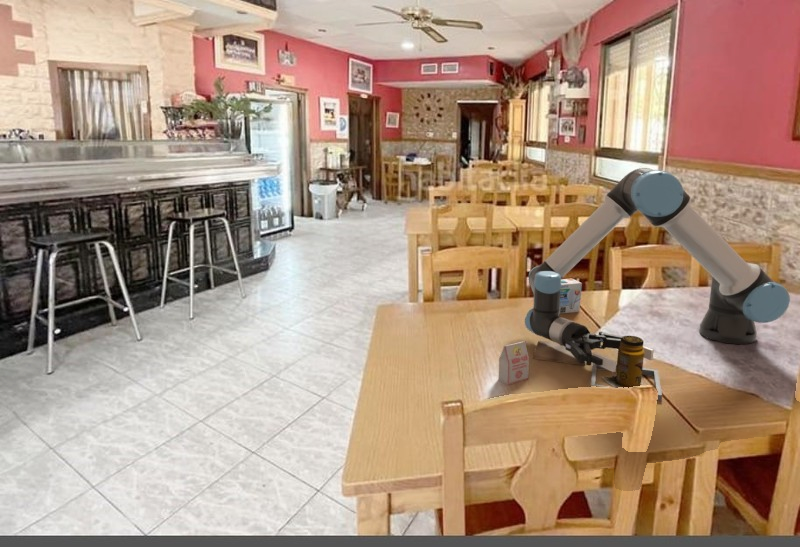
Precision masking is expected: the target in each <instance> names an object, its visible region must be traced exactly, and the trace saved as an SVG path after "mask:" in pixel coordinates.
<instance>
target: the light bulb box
mask: <svg viewBox="0 0 800 547" xmlns="http://www.w3.org/2000/svg"><path fill="white" fill-rule="evenodd" d="M582 284H583V283H582V282H580V281H578V280H576V279H574V278H562V279H561V285H562V287H561V293H560V307H559V308H560V310H559V314H568V313H579V312H580V311H581V299H582V298H581V297H582Z"/></svg>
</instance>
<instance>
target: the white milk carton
mask: <svg viewBox="0 0 800 547" xmlns="http://www.w3.org/2000/svg"><path fill="white" fill-rule="evenodd" d="M529 367H530V357H529V353H528V349H527V344H526V341H525V340H524V341H518V342H516V343H511V344H507V345H503V348H502V351H501V354H500V356H499V358H498V381H500V382H502V383H503V384H505V385H507V386H509V385H514V384H516V383H519V382H520V383H521V382H523V381H524V382H525V381H527V380H529Z"/></svg>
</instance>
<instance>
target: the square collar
mask: <svg viewBox="0 0 800 547" xmlns="http://www.w3.org/2000/svg"><path fill="white" fill-rule="evenodd" d="M591 368H592V370H591V379H590V387H591V386H596V387H612V386H611V385H610V386H609V385H603V384H596V377H597V370H601V371H602V370H603V371H610V370H607V369H605V368H603V367H601V366H598V365H596V364H594V363H592V367H591ZM616 369H617V364H616ZM610 372H611V371H610ZM642 376H649V377H653V383H654V384H653V385H654V388H655V387H656V389H657V391H658V402H662V401H663V392H662V387H661V386H662V385H661V381H660V374H659V369H652V368H647V367H646V368H645V367H643V369H642ZM614 388H618V387H614Z"/></svg>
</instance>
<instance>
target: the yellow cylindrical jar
mask: <svg viewBox="0 0 800 547" xmlns="http://www.w3.org/2000/svg"><path fill="white" fill-rule="evenodd" d="M622 336H623V337H622V338H621V343H620V347H619V348H618V349H617V358H616V359H617V360H616V365H617V369H616V372H615V375H613V376H603V377H601V379H602V380H603V381H605V382H606V383H607V384H609V385H610V386H611V387H623V388H624V387H628V388H629V387H633V386H640V385H646V384H645V383H643V381H642V377H643V375H642V369H643V368H644V359H645V358H644V350H643V346H644V340H643V339H642V338H641V337H639V336H635V335H622Z"/></svg>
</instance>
